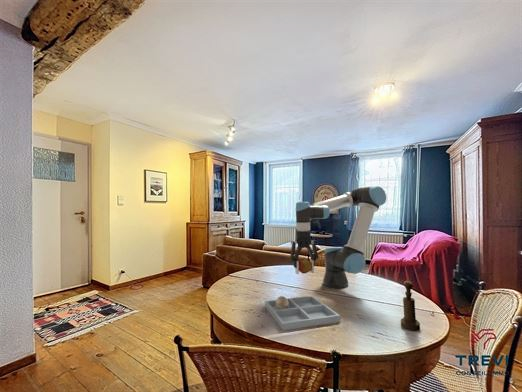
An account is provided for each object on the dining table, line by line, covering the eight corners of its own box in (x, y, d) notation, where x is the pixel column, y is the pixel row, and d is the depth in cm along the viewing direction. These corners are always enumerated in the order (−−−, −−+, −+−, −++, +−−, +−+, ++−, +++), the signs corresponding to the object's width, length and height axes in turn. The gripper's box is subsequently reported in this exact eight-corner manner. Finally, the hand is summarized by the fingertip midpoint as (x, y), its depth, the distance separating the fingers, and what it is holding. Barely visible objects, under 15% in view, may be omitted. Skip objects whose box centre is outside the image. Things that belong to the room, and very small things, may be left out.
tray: (312, 302, 126) (312, 295, 127) (340, 324, 102) (340, 315, 103) (264, 308, 120) (264, 301, 120) (282, 333, 96) (282, 323, 96)
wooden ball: (286, 306, 119) (285, 293, 119) (290, 311, 113) (290, 298, 114) (274, 308, 118) (273, 295, 118) (278, 313, 112) (277, 299, 112)
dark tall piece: (397, 324, 102) (395, 279, 103) (412, 323, 102) (410, 278, 103) (408, 332, 95) (405, 283, 96) (424, 331, 96) (421, 283, 97)
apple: (302, 271, 140) (302, 256, 140) (315, 273, 134) (314, 258, 134) (294, 273, 134) (293, 258, 135) (306, 276, 129) (306, 260, 129)
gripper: (317, 229, 142) (319, 269, 141) (282, 230, 136) (283, 273, 135) (324, 230, 135) (325, 273, 133) (287, 231, 129) (288, 276, 128)
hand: (304, 272), depth 134 cm, fingers closed on apple, 8 cm apart
